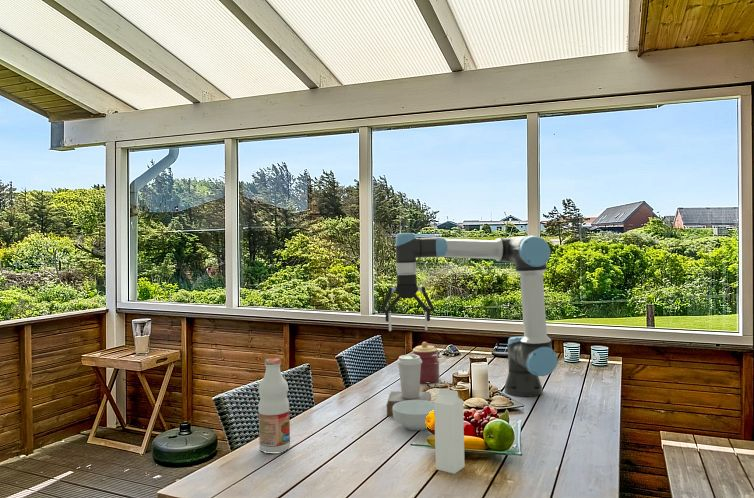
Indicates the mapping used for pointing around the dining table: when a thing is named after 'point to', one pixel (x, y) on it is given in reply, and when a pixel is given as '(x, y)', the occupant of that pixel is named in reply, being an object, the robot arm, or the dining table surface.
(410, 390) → the coffee cup
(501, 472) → the dining table surface
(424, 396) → the grey flat block
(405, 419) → the cereal bowl
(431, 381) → the canister
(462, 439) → the milk
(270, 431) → the fruit juice
